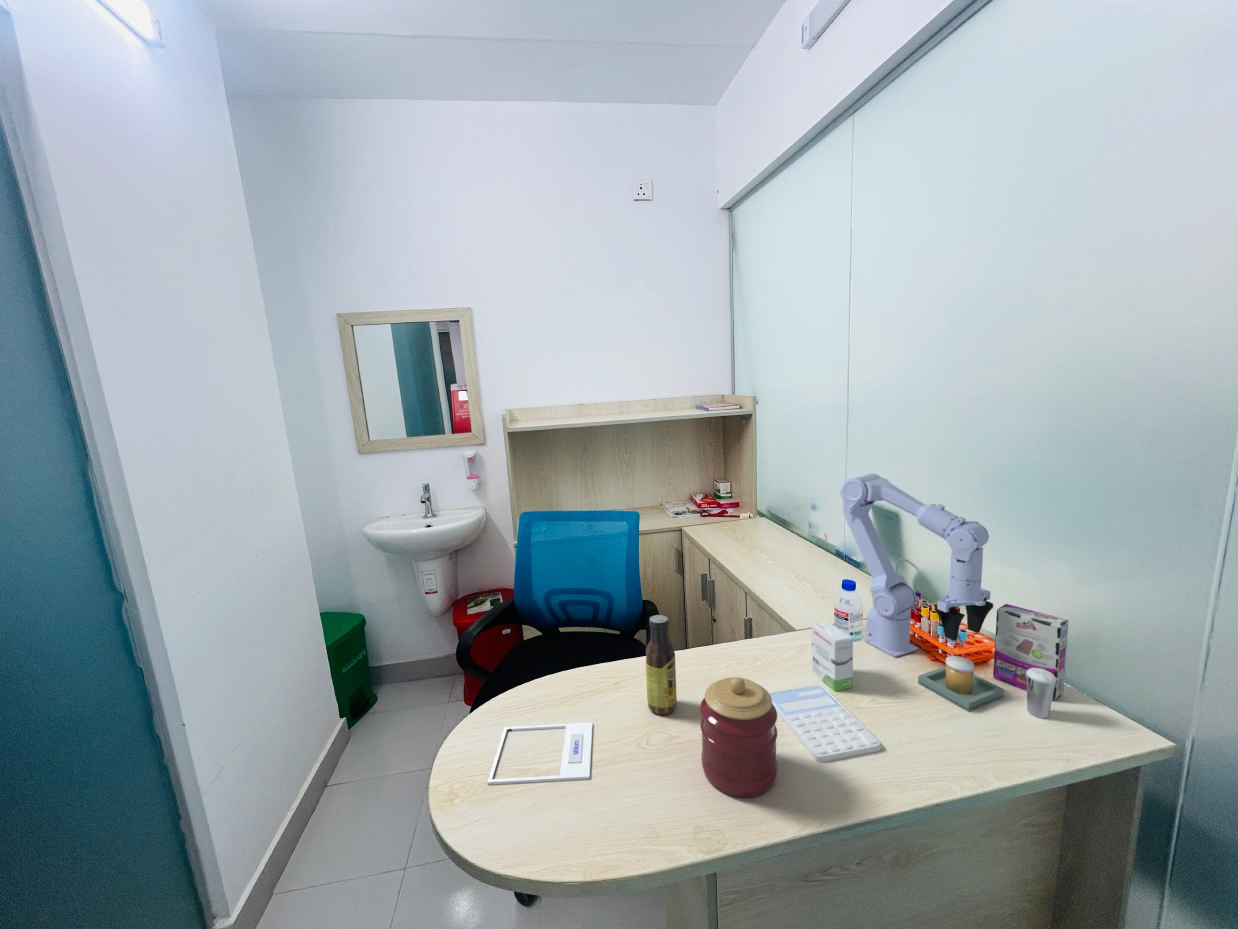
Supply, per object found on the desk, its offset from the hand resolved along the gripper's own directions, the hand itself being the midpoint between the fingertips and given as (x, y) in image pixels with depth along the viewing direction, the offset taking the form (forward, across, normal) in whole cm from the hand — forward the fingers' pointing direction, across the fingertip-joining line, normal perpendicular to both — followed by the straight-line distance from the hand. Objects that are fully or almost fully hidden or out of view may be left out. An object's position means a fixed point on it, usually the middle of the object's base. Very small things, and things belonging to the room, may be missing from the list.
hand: (962, 634), depth 113 cm
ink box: (+10, -27, +11) cm, 31 cm away
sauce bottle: (+10, -66, +19) cm, 69 cm away
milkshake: (+10, 0, -16) cm, 19 cm away
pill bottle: (+9, -6, -4) cm, 12 cm away
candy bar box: (+10, +8, -9) cm, 15 cm away
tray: (+9, -6, -4) cm, 12 cm away
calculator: (+10, -40, +1) cm, 41 cm away
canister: (+10, -62, -3) cm, 63 cm away
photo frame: (+10, -92, +17) cm, 94 cm away
